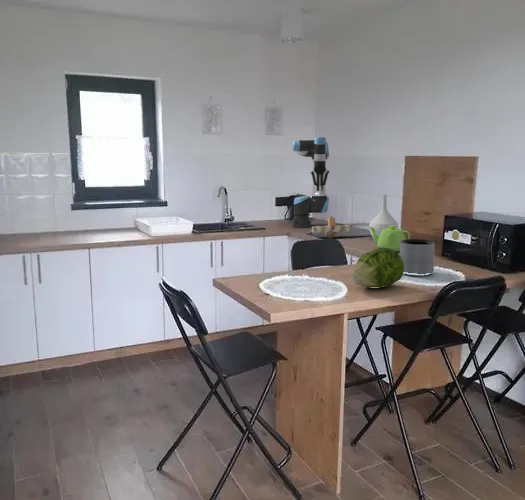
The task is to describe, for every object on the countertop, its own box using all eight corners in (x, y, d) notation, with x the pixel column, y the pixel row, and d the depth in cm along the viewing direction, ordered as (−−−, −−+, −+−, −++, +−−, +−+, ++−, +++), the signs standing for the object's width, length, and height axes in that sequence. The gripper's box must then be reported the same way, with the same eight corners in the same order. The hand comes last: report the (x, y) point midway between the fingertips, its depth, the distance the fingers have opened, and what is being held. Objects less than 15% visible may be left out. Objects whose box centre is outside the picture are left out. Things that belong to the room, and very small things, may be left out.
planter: (431, 270, 257) (433, 239, 254) (434, 277, 241) (436, 245, 238) (398, 268, 260) (399, 238, 257) (399, 276, 245) (400, 244, 242)
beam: (314, 238, 349) (314, 227, 347) (311, 237, 356) (311, 226, 355) (351, 237, 353) (351, 226, 352) (347, 235, 361) (347, 224, 359)
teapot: (414, 251, 303) (415, 226, 301) (385, 254, 296) (386, 229, 293) (394, 245, 320) (395, 222, 318) (367, 248, 313) (367, 225, 310)
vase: (400, 239, 342) (402, 193, 336) (393, 243, 326) (395, 196, 321) (373, 237, 351) (374, 193, 345) (365, 241, 335) (366, 195, 329)
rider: (329, 228, 352) (329, 216, 350) (328, 228, 355) (328, 216, 353) (335, 228, 352) (335, 216, 351) (333, 227, 355) (333, 216, 354)
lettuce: (341, 286, 231) (341, 251, 223) (382, 272, 240) (384, 238, 233) (367, 303, 217) (368, 266, 209) (409, 287, 226) (411, 251, 219)
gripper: (312, 161, 343) (312, 196, 348) (331, 160, 345) (330, 196, 350) (308, 160, 350) (308, 195, 355) (327, 160, 352) (327, 194, 357)
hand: (319, 195), depth 353 cm, fingers closed
